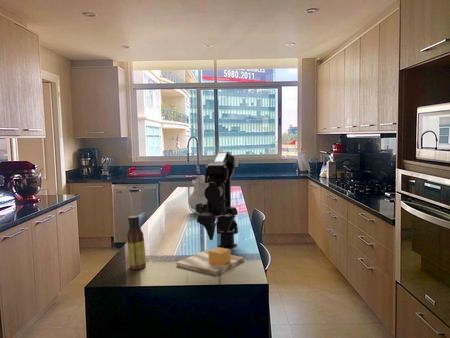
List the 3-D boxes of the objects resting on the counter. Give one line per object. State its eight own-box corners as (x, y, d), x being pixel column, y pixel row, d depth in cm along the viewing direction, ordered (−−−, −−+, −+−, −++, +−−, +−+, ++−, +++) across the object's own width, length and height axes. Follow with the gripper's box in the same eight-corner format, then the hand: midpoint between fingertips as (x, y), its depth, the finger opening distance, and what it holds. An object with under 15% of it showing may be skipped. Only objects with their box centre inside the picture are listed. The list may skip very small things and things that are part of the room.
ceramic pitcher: (216, 218, 228) (218, 178, 226) (185, 216, 228) (186, 176, 226) (217, 211, 250) (219, 175, 248) (189, 210, 250) (190, 173, 248)
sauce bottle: (147, 264, 143) (145, 214, 142) (144, 270, 137) (142, 217, 135) (130, 265, 143) (128, 214, 141) (126, 270, 137) (124, 218, 135)
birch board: (205, 253, 155) (205, 241, 155) (243, 261, 144) (243, 248, 144) (176, 266, 140) (176, 253, 140) (216, 275, 129) (215, 262, 129)
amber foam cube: (218, 258, 144) (218, 247, 143) (230, 261, 140) (230, 249, 140) (208, 262, 139) (208, 251, 138) (221, 265, 135) (221, 253, 135)
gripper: (215, 191, 151) (216, 228, 153) (184, 199, 136) (186, 240, 138) (237, 193, 145) (238, 232, 146) (208, 201, 130) (209, 244, 131)
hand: (218, 236), depth 140 cm, fingers open, 9 cm apart
